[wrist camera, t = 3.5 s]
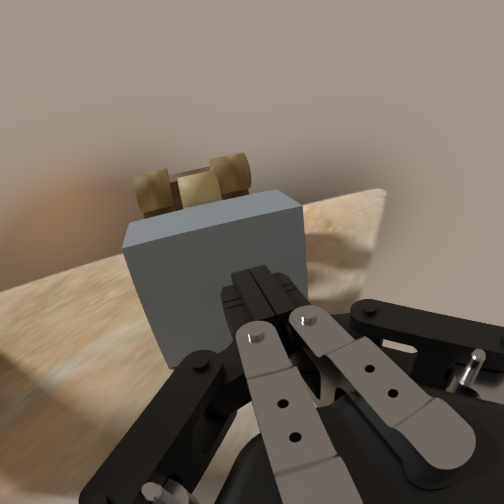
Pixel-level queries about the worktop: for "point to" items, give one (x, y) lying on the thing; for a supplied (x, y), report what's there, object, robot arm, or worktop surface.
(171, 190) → the fixed leaf
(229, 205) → the grey block
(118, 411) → the worktop surface
